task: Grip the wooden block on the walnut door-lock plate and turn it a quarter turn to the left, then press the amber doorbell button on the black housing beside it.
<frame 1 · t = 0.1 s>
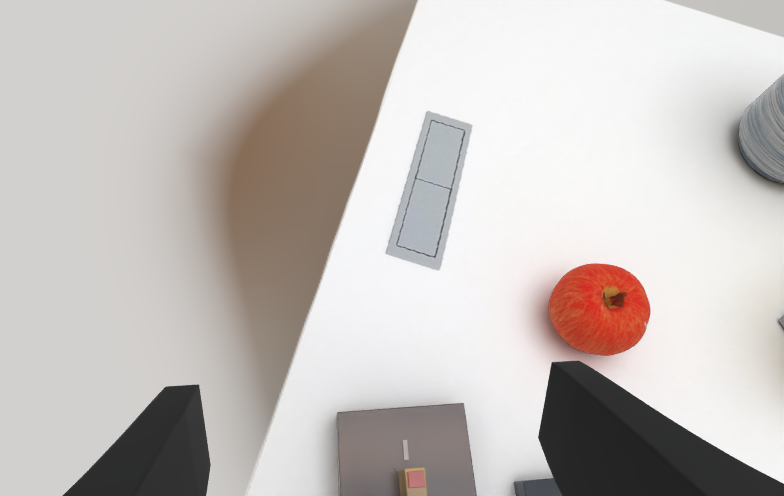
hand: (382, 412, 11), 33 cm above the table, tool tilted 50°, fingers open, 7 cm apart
apple: (578, 321, 49), on the table
vase: (772, 154, 61), on the table
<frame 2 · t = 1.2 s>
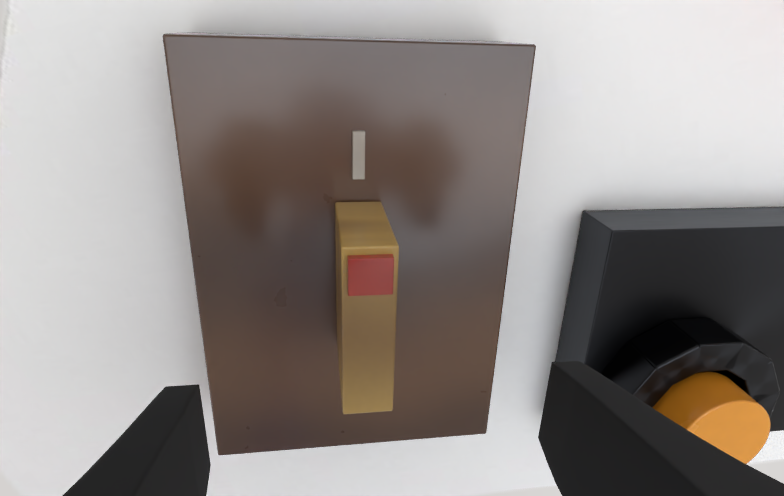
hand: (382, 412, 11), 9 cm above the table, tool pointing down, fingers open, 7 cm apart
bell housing: (689, 315, 23), on the table
lock plate: (351, 240, 19), on the table
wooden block: (363, 305, 15), point 5 cm above the table, hinge at 0.0°
bell button: (707, 424, 19), point 4 cm above the table, slide at 0.1 cm
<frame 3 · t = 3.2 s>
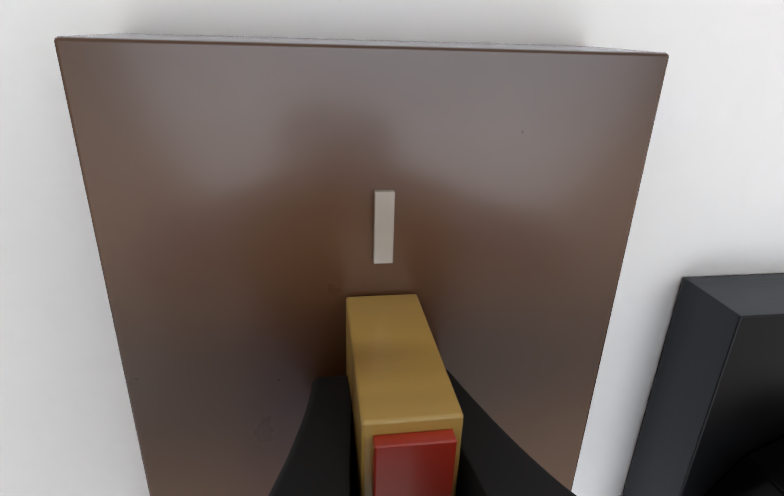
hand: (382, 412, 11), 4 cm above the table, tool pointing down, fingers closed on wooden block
lock plate: (365, 322, 14), on the table
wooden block: (391, 466, 9), point 5 cm above the table, hinge at 0.1°, touching gripper
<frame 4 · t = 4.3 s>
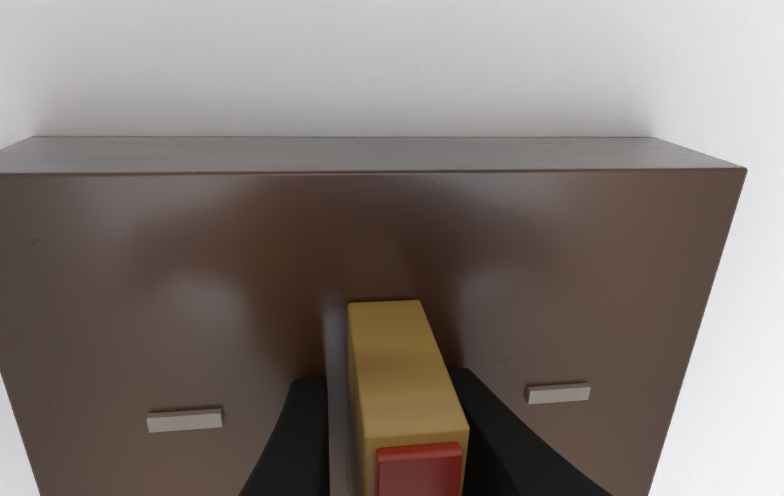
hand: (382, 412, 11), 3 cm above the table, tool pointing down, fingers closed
lock plate: (367, 327, 14), on the table
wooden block: (394, 476, 9), point 5 cm above the table, hinge at 90.0°
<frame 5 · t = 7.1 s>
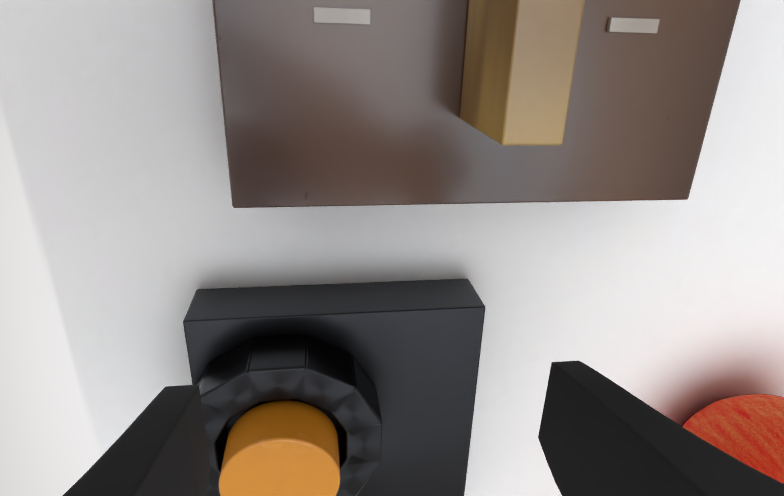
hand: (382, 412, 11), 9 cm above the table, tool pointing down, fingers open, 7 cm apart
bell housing: (339, 412, 22), on the table
lock plate: (462, 21, 16), on the table
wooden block: (519, 20, 12), point 5 cm above the table, hinge at 90.0°
apple: (708, 430, 25), on the table
bell button: (281, 463, 16), point 4 cm above the table, slide at 0.1 cm
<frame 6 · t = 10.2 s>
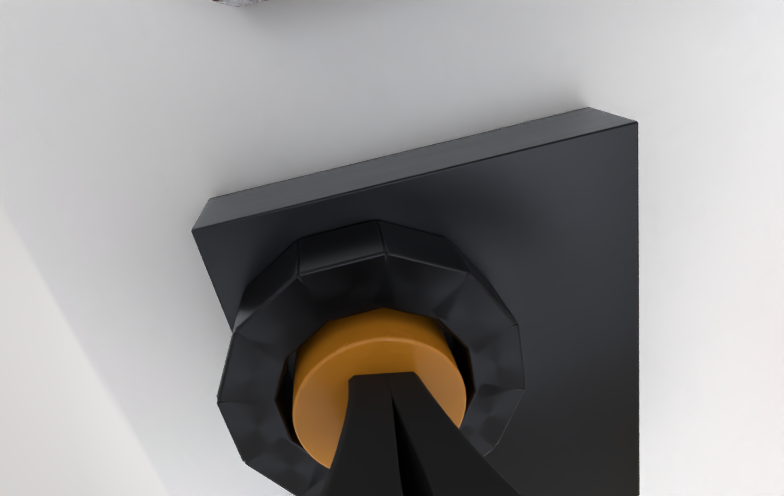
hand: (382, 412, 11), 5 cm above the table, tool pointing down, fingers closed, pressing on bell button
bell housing: (441, 343, 16), on the table
bell button: (376, 386, 11), point 4 cm above the table, slide at -0.7 cm, touching gripper
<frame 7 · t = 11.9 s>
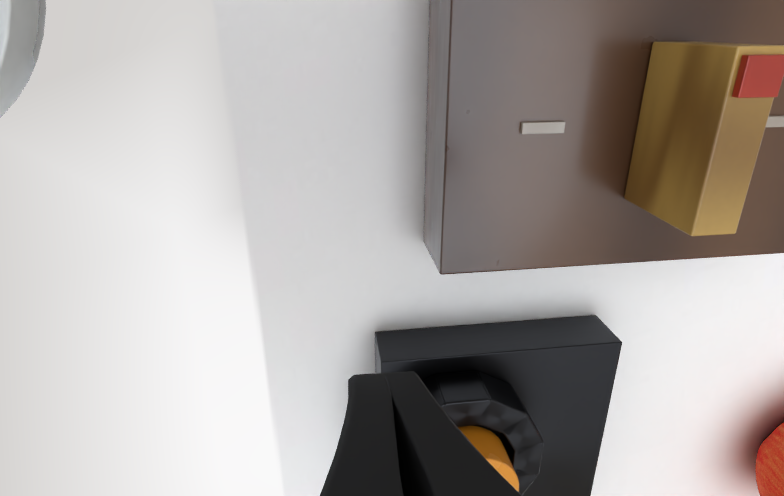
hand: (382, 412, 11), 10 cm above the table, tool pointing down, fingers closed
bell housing: (479, 430, 25), on the table
lock plate: (608, 110, 20), on the table
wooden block: (695, 135, 15), point 5 cm above the table, hinge at 90.0°
bell button: (466, 477, 20), point 4 cm above the table, slide at 0.1 cm
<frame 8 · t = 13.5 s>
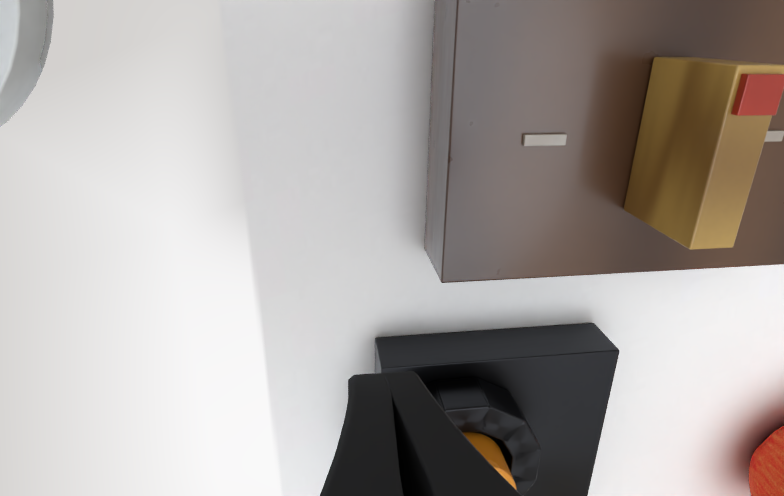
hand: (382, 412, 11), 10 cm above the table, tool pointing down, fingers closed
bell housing: (477, 435, 25), on the table
lock plate: (608, 121, 20), on the table
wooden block: (694, 150, 15), point 5 cm above the table, hinge at 90.0°
apple: (782, 444, 29), on the table
bell button: (464, 483, 20), point 4 cm above the table, slide at 0.1 cm
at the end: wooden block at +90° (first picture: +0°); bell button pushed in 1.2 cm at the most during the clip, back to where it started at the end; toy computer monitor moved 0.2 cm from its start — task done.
